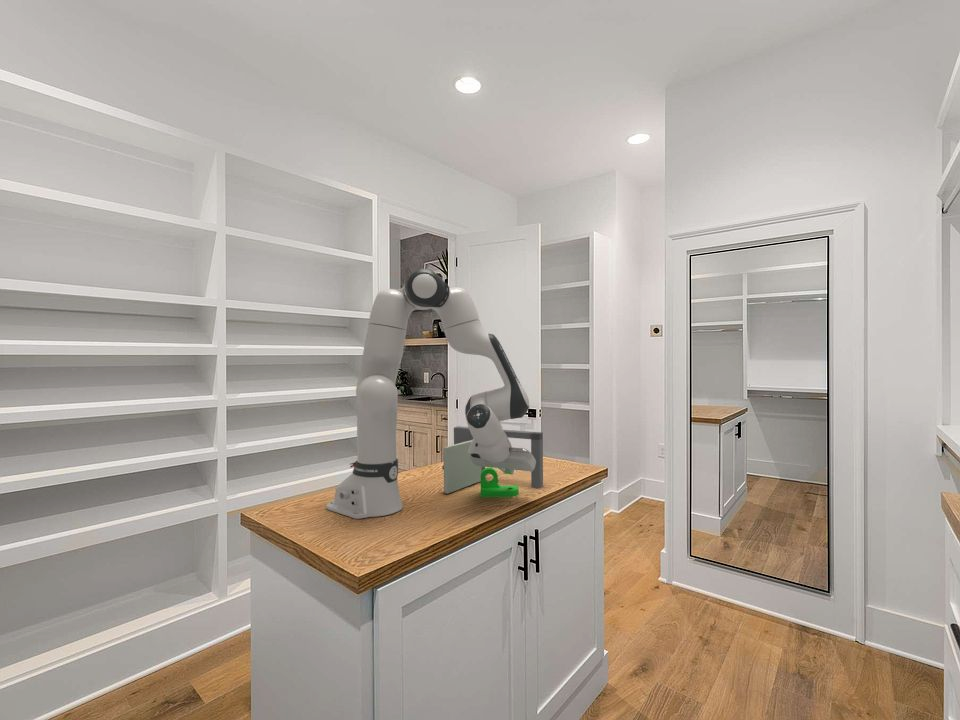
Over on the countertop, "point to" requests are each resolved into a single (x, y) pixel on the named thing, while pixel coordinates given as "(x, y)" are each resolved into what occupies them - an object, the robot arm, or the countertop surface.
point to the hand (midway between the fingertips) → (509, 472)
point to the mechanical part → (495, 486)
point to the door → (459, 467)
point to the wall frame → (536, 437)
